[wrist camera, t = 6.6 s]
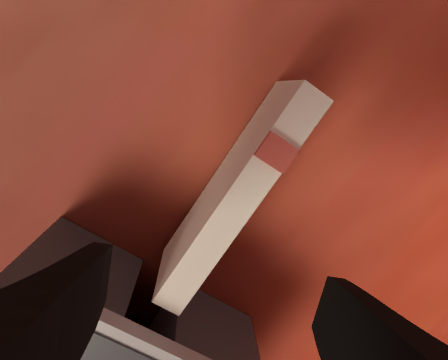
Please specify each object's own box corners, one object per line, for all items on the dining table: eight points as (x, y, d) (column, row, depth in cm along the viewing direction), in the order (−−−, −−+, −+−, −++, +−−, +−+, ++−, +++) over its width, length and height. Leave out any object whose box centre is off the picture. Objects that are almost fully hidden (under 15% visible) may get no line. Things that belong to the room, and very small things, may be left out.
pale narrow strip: (297, 96, 18) (336, 101, 13) (184, 260, 21) (178, 319, 15) (276, 81, 18) (307, 79, 13) (163, 249, 20) (150, 305, 15)
